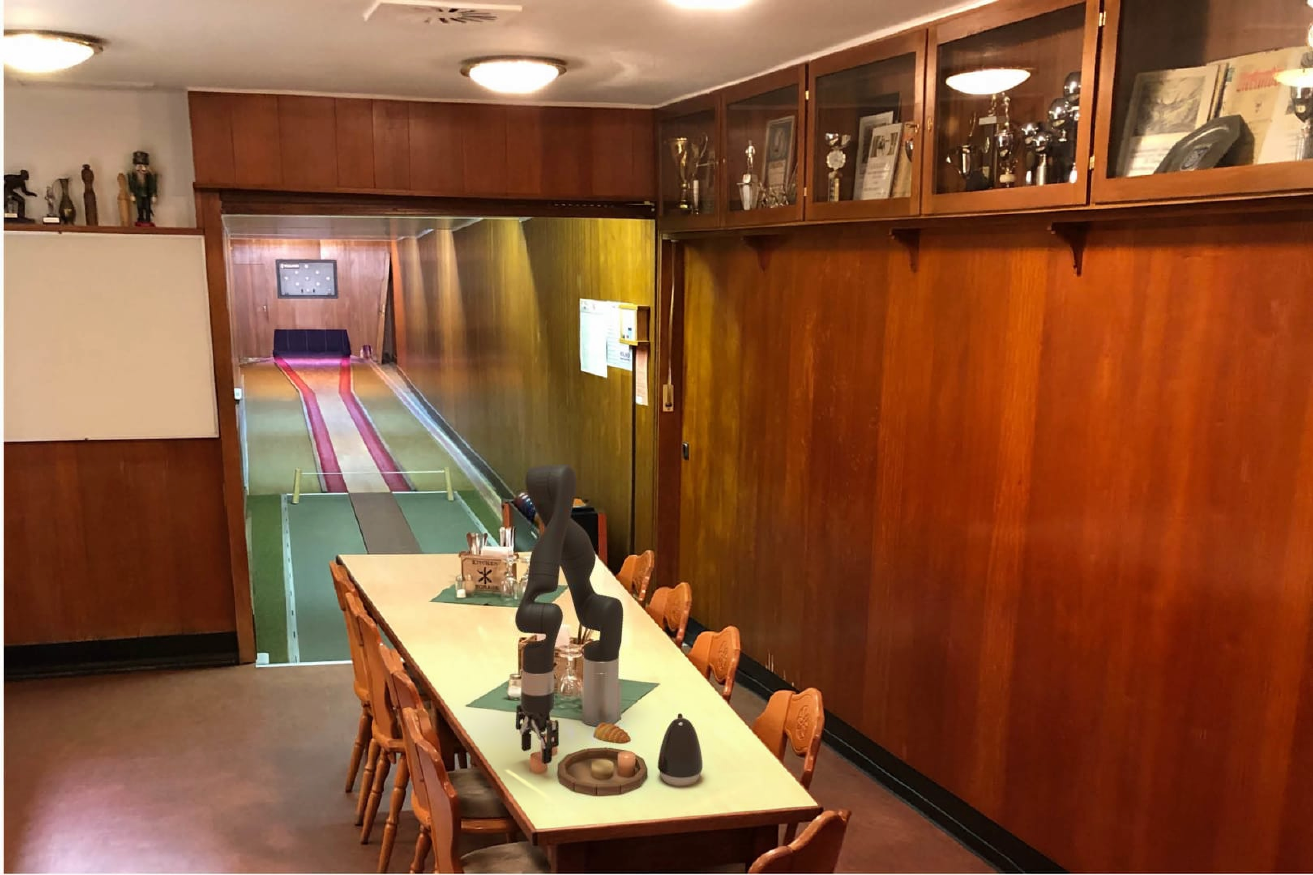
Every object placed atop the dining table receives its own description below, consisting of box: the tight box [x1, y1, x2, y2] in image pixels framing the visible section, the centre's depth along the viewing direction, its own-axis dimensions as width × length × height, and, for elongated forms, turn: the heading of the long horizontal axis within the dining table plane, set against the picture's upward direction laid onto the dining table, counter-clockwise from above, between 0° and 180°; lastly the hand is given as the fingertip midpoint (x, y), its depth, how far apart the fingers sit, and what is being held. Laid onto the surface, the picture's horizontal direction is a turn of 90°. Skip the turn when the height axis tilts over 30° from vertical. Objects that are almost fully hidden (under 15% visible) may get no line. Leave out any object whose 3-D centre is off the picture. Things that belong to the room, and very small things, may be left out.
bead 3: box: [618, 750, 636, 777], centre depth 237 cm, size 4×4×4 cm
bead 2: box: [540, 737, 558, 757], centre depth 247 cm, size 4×4×4 cm
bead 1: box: [529, 751, 549, 775], centre depth 238 cm, size 4×4×4 cm
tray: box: [557, 746, 649, 797], centre depth 236 cm, size 20×20×4 cm
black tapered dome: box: [657, 712, 704, 787], centre depth 234 cm, size 10×10×15 cm
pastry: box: [592, 723, 631, 745], centre depth 256 cm, size 9×7×4 cm
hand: (536, 756), depth 237 cm, fingers open, 8 cm apart
